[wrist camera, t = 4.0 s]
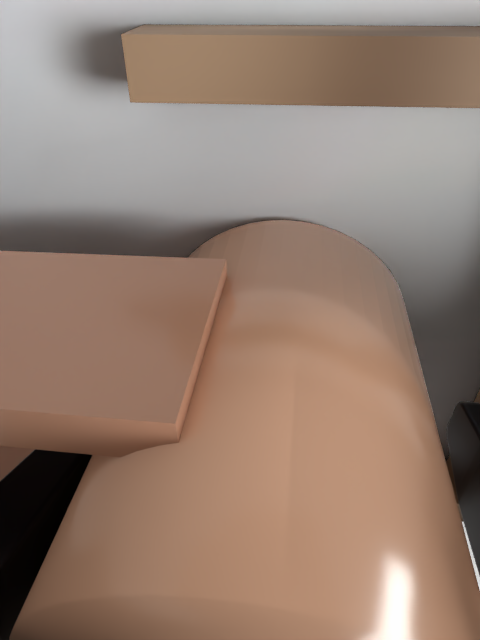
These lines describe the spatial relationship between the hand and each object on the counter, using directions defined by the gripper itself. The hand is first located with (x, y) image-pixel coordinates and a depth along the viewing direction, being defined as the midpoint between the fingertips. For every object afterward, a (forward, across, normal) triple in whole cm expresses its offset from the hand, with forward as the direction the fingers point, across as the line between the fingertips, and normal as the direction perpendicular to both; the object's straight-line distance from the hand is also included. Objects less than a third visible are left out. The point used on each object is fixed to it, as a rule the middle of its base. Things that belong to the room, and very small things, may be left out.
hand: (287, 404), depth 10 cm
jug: (+3, +3, 0) cm, 4 cm away
